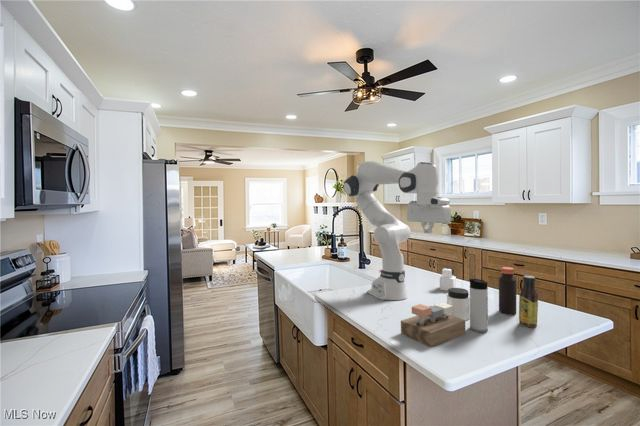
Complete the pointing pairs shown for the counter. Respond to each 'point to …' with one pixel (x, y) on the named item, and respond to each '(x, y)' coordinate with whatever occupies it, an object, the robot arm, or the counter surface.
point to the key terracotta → (421, 312)
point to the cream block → (445, 308)
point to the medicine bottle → (447, 279)
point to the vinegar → (507, 291)
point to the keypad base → (433, 329)
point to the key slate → (435, 313)
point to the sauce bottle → (528, 303)
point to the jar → (459, 303)
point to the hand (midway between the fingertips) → (427, 233)
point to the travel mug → (478, 305)
